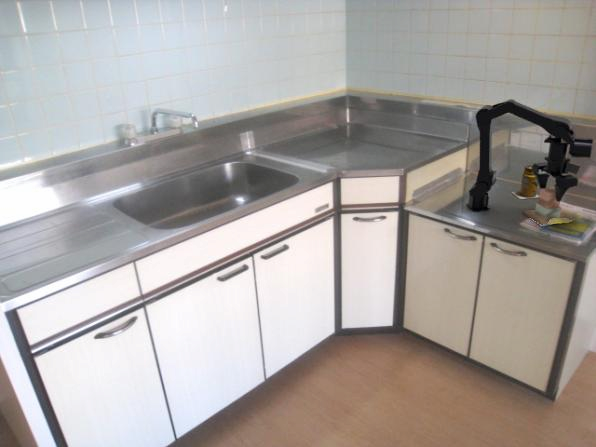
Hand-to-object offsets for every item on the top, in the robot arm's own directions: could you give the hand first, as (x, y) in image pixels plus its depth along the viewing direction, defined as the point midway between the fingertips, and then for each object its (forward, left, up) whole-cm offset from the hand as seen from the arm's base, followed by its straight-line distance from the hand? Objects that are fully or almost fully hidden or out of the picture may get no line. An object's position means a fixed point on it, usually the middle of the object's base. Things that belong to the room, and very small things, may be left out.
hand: (550, 196), depth 181 cm
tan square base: (0, 0, -8) cm, 9 cm away
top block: (0, 0, -4) cm, 4 cm away
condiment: (+5, +22, -9) cm, 24 cm away
